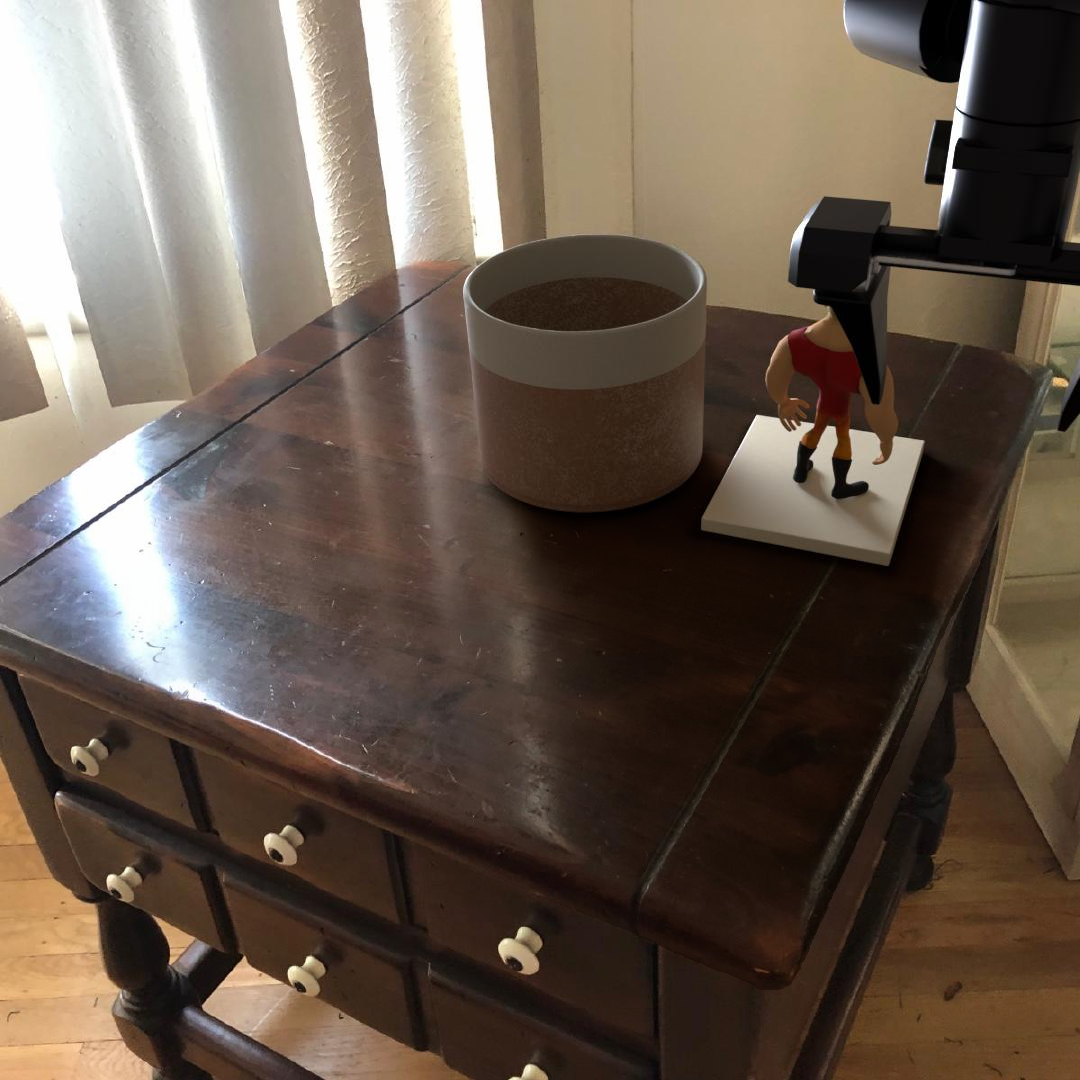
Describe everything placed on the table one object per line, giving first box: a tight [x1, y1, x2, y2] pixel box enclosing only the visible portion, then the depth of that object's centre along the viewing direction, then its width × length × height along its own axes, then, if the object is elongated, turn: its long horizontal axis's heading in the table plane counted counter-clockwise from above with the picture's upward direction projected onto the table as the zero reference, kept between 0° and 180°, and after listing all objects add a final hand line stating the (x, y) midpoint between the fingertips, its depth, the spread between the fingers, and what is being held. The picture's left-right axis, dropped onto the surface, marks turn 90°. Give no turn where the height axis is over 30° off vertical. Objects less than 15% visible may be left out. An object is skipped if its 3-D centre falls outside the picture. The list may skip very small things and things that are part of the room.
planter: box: [462, 233, 708, 514], centre depth 79 cm, size 16×16×14 cm
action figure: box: [765, 305, 899, 499], centre depth 73 cm, size 10×4×15 cm, turn 45°
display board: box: [700, 414, 926, 567], centre depth 78 cm, size 12×14×1 cm
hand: (966, 414), depth 60 cm, fingers open, 9 cm apart
